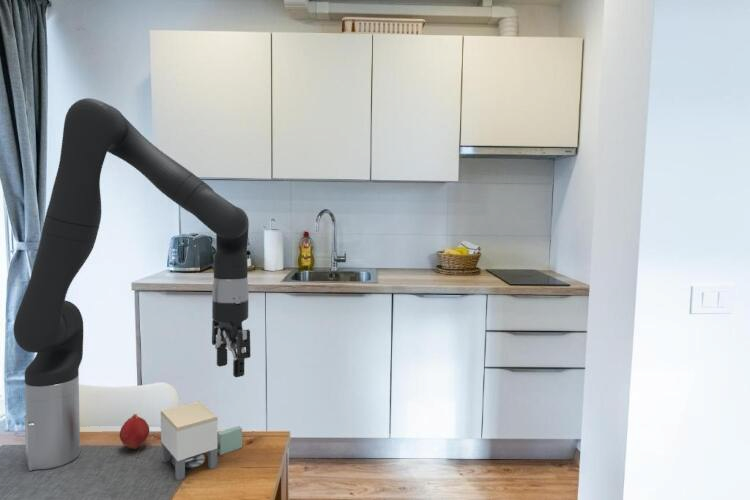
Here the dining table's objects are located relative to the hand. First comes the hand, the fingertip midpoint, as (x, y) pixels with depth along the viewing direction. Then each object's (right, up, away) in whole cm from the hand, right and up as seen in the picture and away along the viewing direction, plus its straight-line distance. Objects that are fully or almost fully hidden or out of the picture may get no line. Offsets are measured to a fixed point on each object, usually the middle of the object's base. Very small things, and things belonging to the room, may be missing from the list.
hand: (230, 370), depth 102 cm
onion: (-21, -18, +1) cm, 28 cm away
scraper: (-4, -18, -2) cm, 19 cm away
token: (-7, -19, -4) cm, 20 cm away
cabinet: (-7, -18, -5) cm, 20 cm away
